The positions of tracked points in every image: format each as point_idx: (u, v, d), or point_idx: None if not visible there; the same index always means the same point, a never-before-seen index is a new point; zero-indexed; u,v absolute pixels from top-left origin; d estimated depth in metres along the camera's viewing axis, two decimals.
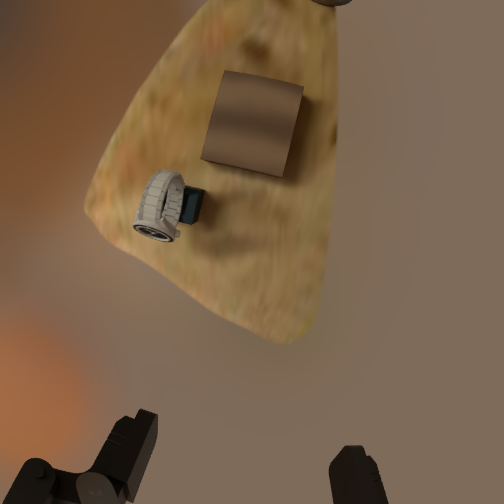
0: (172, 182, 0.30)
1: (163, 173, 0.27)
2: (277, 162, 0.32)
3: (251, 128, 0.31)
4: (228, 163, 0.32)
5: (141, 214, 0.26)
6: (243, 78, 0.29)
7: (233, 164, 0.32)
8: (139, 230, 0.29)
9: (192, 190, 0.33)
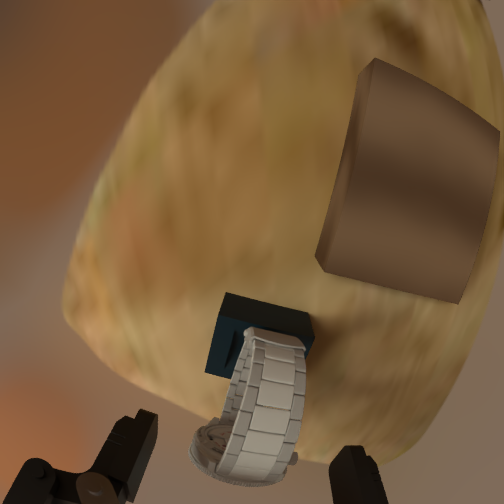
0: None
1: (273, 373, 0.09)
2: (459, 279, 0.14)
3: (431, 208, 0.13)
4: (382, 283, 0.14)
5: (223, 473, 0.08)
6: (414, 87, 0.11)
7: (391, 285, 0.14)
8: None
9: (300, 337, 0.15)
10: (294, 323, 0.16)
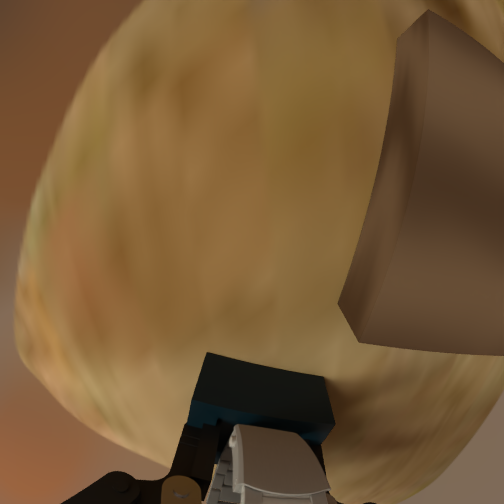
0: None
1: None
2: None
3: None
4: (437, 348, 0.08)
5: None
6: (482, 57, 0.05)
7: (447, 349, 0.08)
8: None
9: (314, 425, 0.09)
10: (305, 401, 0.10)
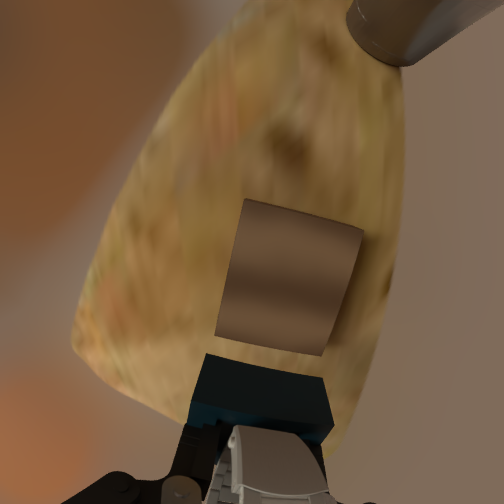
0: None
1: None
2: (317, 340, 0.24)
3: (285, 299, 0.23)
4: (252, 342, 0.24)
5: None
6: (274, 216, 0.21)
7: (259, 344, 0.24)
8: None
9: (313, 426, 0.09)
10: (305, 402, 0.10)
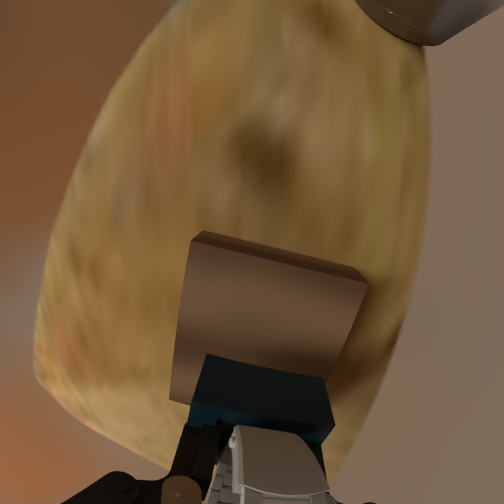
0: None
1: None
2: None
3: None
4: None
5: None
6: (235, 265, 0.15)
7: None
8: None
9: (314, 426, 0.09)
10: (305, 402, 0.10)
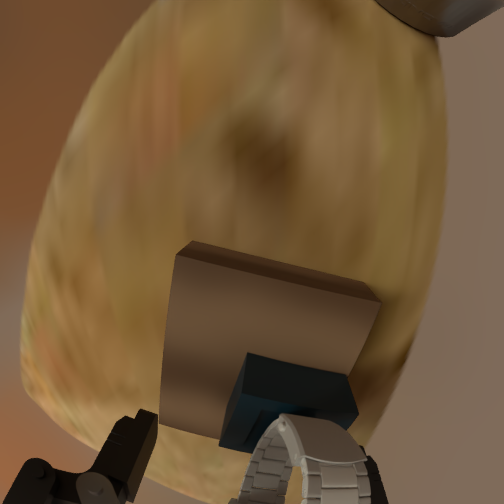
0: None
1: None
2: None
3: None
4: (209, 436, 0.15)
5: None
6: (228, 283, 0.12)
7: (218, 438, 0.15)
8: None
9: (341, 414, 0.10)
10: (333, 395, 0.11)
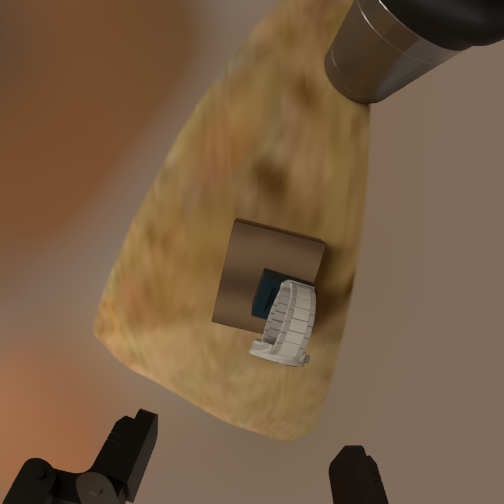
0: None
1: (301, 294, 0.21)
2: None
3: None
4: (240, 327, 0.32)
5: (276, 351, 0.20)
6: (256, 234, 0.29)
7: (245, 329, 0.32)
8: None
9: None
10: None
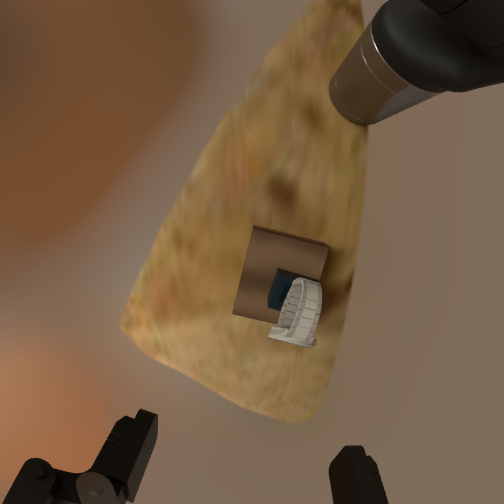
0: None
1: (310, 288, 0.27)
2: None
3: None
4: (257, 318, 0.38)
5: (291, 334, 0.26)
6: (271, 239, 0.35)
7: (261, 319, 0.38)
8: None
9: None
10: None
